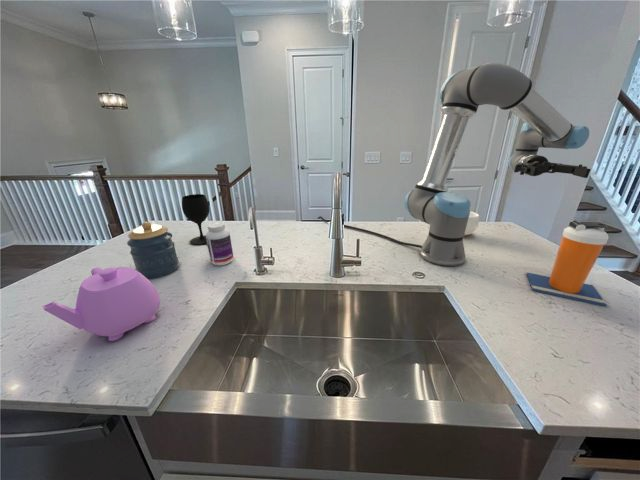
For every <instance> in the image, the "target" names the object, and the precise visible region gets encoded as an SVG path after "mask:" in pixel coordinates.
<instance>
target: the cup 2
mask: <svg viewBox="0 0 640 480" xmlns="http://www.w3.org/2000/svg"><path fill="white" fill-rule="evenodd" d="M479 223H480V214H478V213H477V212H474V211H470V214H469V217H468V221H467V226H466V230H465V234H464V237H467V236H468V235H472V234H473V233H474V232H476V231H477V229H478V227H479Z"/></svg>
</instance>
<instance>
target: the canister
mask: <svg viewBox="0 0 640 480" xmlns="http://www.w3.org/2000/svg"><path fill="white" fill-rule="evenodd" d="M127 237H128V238H129V239H128V240H127V242H126V244H127V246H128V247H130V251H129V254H130V255H131V259H132V261H133V264H134V267H135V268H134V269H135V270H137V271H138V272H140V273H141V274H142V275H143V276H145V277H146V278H147V279H155V278H160V277H163V276H166V275H169V274H171V273H173V272H175V271H176V270H177V269H178V268H179V266H180V264H179V263H180V260H179V257H178V255H177V251H176V245H175V242H174V241H173V239H172V238H173V233H171V232H169V228H168V227H166V226H163V225H161V224H152V223H151V222H150V221H144V222H142V224H141V226H139V227H136V228H134V229H132V231H131V232H129V234H128V235H127Z"/></svg>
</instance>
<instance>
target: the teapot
mask: <svg viewBox="0 0 640 480" xmlns="http://www.w3.org/2000/svg"><path fill="white" fill-rule="evenodd" d="M90 272H91V275H90V276H89V277H86V278H85V279H84V280H83V281H81V283H80V286H79V288H78V293H77V297H76V303H75V308H72V307H69V306H66V305H65V304H61V303H58V302H56V301H54V300H53V301H51V302H49V303H46V304H44V305H42V306H41V308H42V309H43V310H44V311H45V312H46V313H48V314H50V315H52V316H54V317H56V318H58V319H59V320H61V321H63V322H65V323H67V324H68V325H70V326H72V327H74V328H76V329H78V330H84V331H85V332H88V333H90V334H93V335H96V336H101V337H107V340H108V341H109V342H110V341H111V342H114V341H118V340H119V339H121V338H122V337H123V336H124V335H125V333H127V332H128V331H130V330H132V329H134V328H136V327H139V326H140V325H142V324H143V323H145V324H147V323H151V322H153V321H154V320H155V319H156V318H157V316H156V315H155V314H157V311H158V310H159V307H160V305H161V297H160V295H159V292H158V290H157V288H156V287H155V285H154V284H153V283H152V282H151V281H150V280H149V278H146V277H145V276H143V275H142V274H141V273H140V272H138V271H137V270H136V269H135V268H132V267H128V266H119V267H118V266H117V267H115V266H111V267H107V268H103V269H102V267H97V266H96V267H93V268H92V269H91V270H90Z"/></svg>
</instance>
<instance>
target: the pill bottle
mask: <svg viewBox="0 0 640 480" xmlns="http://www.w3.org/2000/svg"><path fill="white" fill-rule="evenodd" d="M207 230H208V231H207V232H206V234H205V236H206V240H207V244H206V245H207V250H208V255H209V259H210V263H211V264H212V265H214V266H225V265H229V264H231V262H233V260H234V259H235V258H234V252H233V245H232V238H231V234H230V231H229V230H228V229H227V228H226V225H225V223H224V222H212V223H209V224H208V225H207Z"/></svg>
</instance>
